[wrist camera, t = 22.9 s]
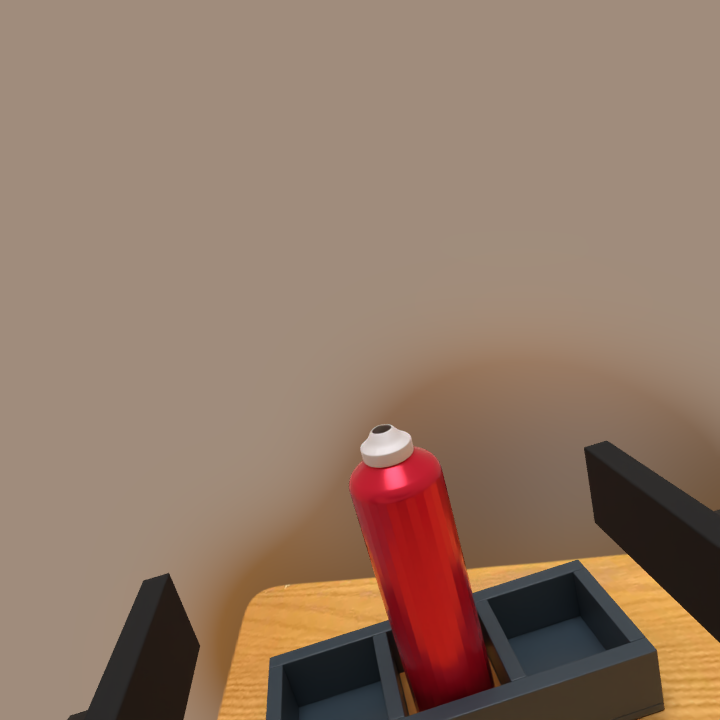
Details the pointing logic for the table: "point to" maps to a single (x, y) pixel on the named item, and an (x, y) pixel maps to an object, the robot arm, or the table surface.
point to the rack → (506, 657)
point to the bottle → (419, 568)
